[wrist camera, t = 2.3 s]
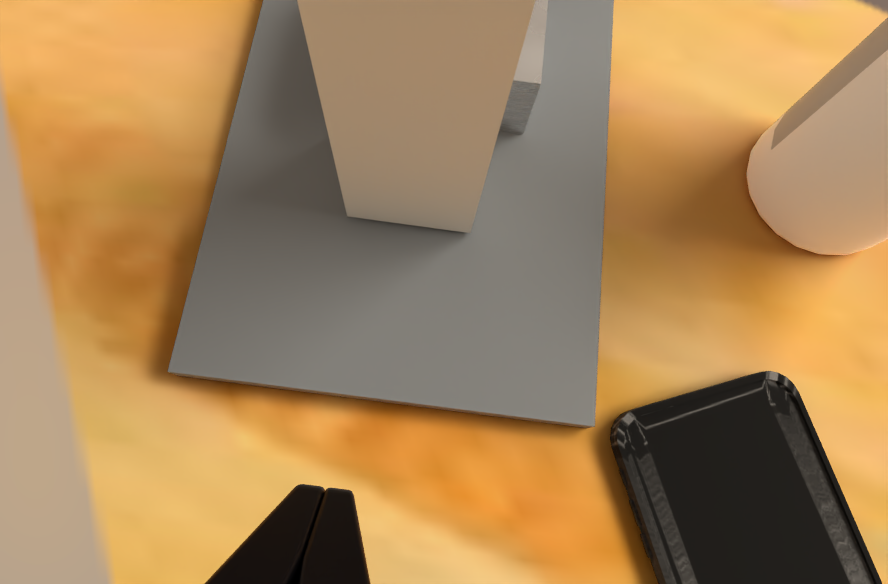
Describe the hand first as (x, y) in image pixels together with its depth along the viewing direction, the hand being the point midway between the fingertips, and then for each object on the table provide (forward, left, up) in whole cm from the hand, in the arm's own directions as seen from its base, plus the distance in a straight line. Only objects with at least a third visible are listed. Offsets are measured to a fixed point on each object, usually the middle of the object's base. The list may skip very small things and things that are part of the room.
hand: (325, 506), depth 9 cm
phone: (-2, -15, -14) cm, 21 cm away
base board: (+13, 0, -14) cm, 19 cm away
